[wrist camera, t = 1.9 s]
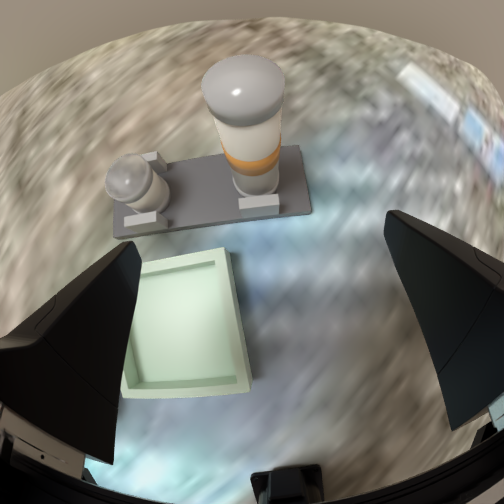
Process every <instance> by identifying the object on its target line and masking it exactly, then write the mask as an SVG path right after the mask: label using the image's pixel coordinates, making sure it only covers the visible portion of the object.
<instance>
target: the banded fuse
mask: <svg viewBox="0 0 504 504" xmlns="http://www.w3.org/2000/svg"><path fill="white" fill-rule="evenodd" d="M201 86H202V92H203V95H204V98H205V101H206V104H207V106H208V109H209V111H210V112H211V114H212V115H213V118H214V121H215V124H216V127H217V130H218V133H219V136H220V139H221V144H222V147H223V150H224V153H225V156H226V159H227V162H228V164H229V166H230V169H231V172H232V175H233V182H234V185H235V188H236V190H237V192H238V194H239V195H240V196H241V197H243V198H246V197H254V196H263V195H271V194H274V193H275V192H276V190H277V188H278V185H279V170H278V167H279V157H280V146H281V133H280V129H281V108H282V105H283V102H284V91H285V76H284V73H283V71H282V69H281V68H280V67H279V66H278V65H277V64H276V63H275V62H273V61H271V60H270V59H267V58H265V57H262V56H257V55H236V56H232V57H228V58H226V59H223V60H221V61H219V62H217V63H216V64H214V65H213V66H212V67H211V68H210V69H209V70H208V71H207V72H206V73H205V75H204V77H203V80H202V84H201Z"/></svg>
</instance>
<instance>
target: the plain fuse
mask: <svg viewBox="0 0 504 504" xmlns="http://www.w3.org/2000/svg"><path fill="white" fill-rule="evenodd" d="M105 188H106V191H107V193H108V194H109V195H110V196H111V197H112V198H114V199H115V200H117V201H119V202H120V203H124V204H126V205H127V206H129V207H131V208H132V209H133V210H134V211H135V212H136V213H138V214H142V213H148V212H154V211H157V212H158V213H159V214H161V213H163V212H164V211H165V210H166V208H167V207H168V205H169V203H170V200H171V189H170V187H169V185H168V184H167V182H166V181H165V180H164V179H163V178H162V177H160V176H159V175H157V174H156V173H155V171H154V170H153V169H152V167H151V166H150V164H149V163H148V162H147V161H146V160H145V159H144V158H143V157H142V156H141V155H139V154H136V153H129V154H125V155H123V156H121V157H120V158H118V159H117V160H116V161H115V162H114V163H113V164H112V165H111V166H110V168H109V170H108V172H107V174H106V178H105Z"/></svg>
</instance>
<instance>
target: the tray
mask: <svg viewBox="0 0 504 504" xmlns="http://www.w3.org/2000/svg"><path fill="white" fill-rule="evenodd" d="M252 382H253V378H252V373H251V368H250V363H249V358H248V353H247V347H246V342H245V337H244V331H243V326H242V320H241V315H240V309H239V304H238V298H237V293H236V287H235V281H234V275H233V270H232V264H231V258H230V252H228V251H227V250H226V249H225V248H224V247H222V248H217V249H211V250H206V251H201V252H196V253H191V254H186V255H180V256H175V257H170V258H165V259H160V260H155V261H150V262H145V263H142V268H141V275H140V282H139V290H138V297H137V302H136V307H135V312H134V316H133V321H132V325H131V330H130V335H129V340H128V346H127V351H126V357H125V362H124V368H123V375H122V381H121V388H120V389H121V393H122V396H123V398H189V397H205V396H217V395H228V394H237V393H245V392H250V391H251V386H252Z"/></svg>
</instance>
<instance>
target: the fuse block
mask: <svg viewBox="0 0 504 504" xmlns="http://www.w3.org/2000/svg"><path fill="white" fill-rule="evenodd" d="M141 156H142V157H143V158H144V159H145V160H146V161H147V162H148V163H149V164H150V166H151V167H152V169H153V170H154V171H155V173H156V174H157V175H159V176H160V177H162V178H163V179H164V180H165V181H166V182H167V184H168V185H169V187H170V189H171V200H170V203H169V205H168V207H167V208H166V210H165V211H164V212H163V213H161V214H159V213H158V212H157V211H154V212H148V213H142V214H138V213H136V212H135V211H134V210H133V209H132V208H131V207H129V206H127V205H126V204H124V203H120V202H119V201H117V200H115V199H114V217H113V238H116V239H125V238H132V237H138V236H144V235H151V234H158V233H164V232H171V231H178V230H185V229H192V228H199V227H207V226H214V225H222V224H230V223H237V222H246V221H254V220H262V219H271V218H280V217H289V216H298V215H307V214H310V212H311V206H310V201H309V195H308V189H307V184H306V178H305V173H304V168H303V163H302V158H301V153H300V148H299V145H294V146H282V147H280V157H279V167H278V170H279V185H278V188H277V190H276V192H275V193H274V194H271V195H263V196H254V197H246V198H243V197H241V196H240V195H239V194H238V192H237V190H236V188H235V185H234V182H233V175H232V172H231V169H230V166H229V164H228V162H227V159H226V156H225V153H224V154H218V155H212V156H206V157H200V158H194V159H189V160H183V161H178V162H173V163H168V164H167V163H166V162H165V160H164V159H163V158H162V157H161V155H160V154H159V153H158V152H157V151H154V152H150V153H146V154H142V155H141Z"/></svg>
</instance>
